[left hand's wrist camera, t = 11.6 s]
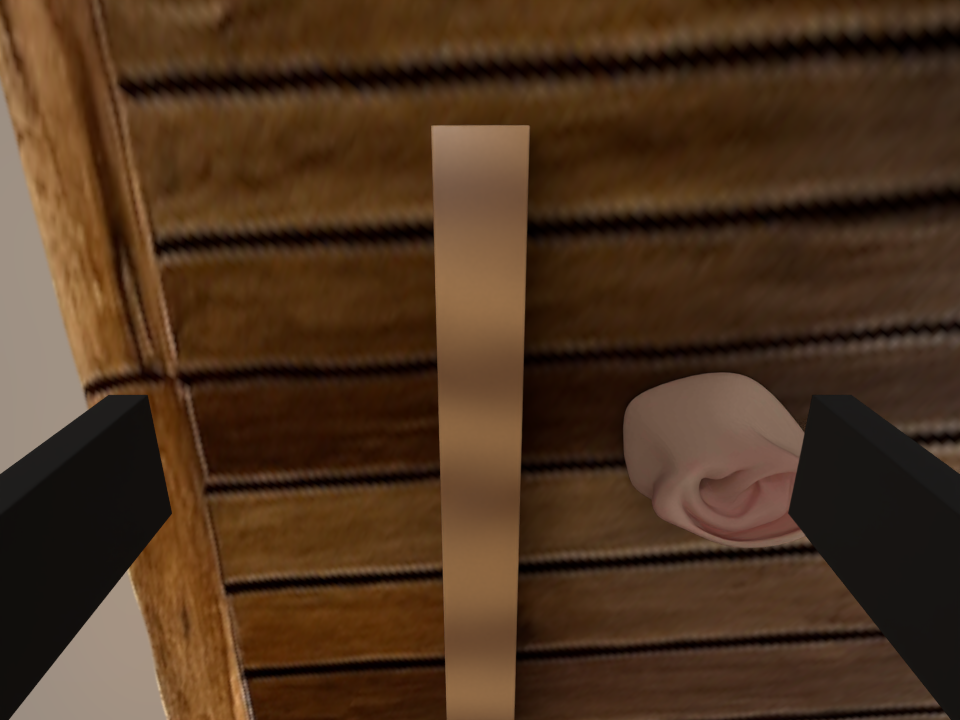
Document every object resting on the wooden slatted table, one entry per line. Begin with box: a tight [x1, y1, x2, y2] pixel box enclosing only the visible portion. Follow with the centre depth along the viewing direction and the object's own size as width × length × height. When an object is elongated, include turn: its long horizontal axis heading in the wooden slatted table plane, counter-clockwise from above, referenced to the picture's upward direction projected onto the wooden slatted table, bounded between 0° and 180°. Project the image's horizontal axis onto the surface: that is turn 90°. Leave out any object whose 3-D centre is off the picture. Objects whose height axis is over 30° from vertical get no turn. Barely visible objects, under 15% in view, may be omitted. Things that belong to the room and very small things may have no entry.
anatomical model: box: [623, 372, 805, 548], centre depth 40 cm, size 13×4×12 cm
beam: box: [431, 125, 530, 720], centre depth 42 cm, size 59×4×8 cm, turn 0°
